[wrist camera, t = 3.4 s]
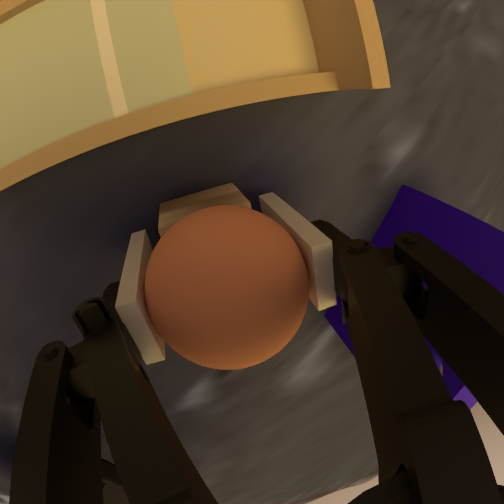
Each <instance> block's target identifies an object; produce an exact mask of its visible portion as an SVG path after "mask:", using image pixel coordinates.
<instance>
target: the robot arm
mask: <svg viewBox="0 0 504 504" xmlns="http://www.w3.org/2000/svg"><path fill="white" fill-rule="evenodd" d="M259 201H260V206H261V210H262V214H264V215H267V216H268V217H270V218H271V219H273V220H274V221H276V222H277V223H278V224H280V225H281V226H282V227H283V228H284V229H285V230H286V231H287V232H288V233H289V234H290V236H291V237H292V238H293V240H294V241H295V242H296V244H297V246H298V247H299V249H300V251H301V253H302V256H303V258H304V261H305V263H306V267H307V271H308V277H309V298H310V300H311V301H312V303H313V304H314V305H315V307H316V308H317V309H318V311H320V310H323V309H326V308H328V307H331V306H334V305H336V304H337V301H336V292H337V294H338V295H339V296H340V297H341V298H342V319H343V324H344V323H346V324H347V328H348V332H349V336H350V339H351V343H352V347H353V351H354V355H355V359H356V363H357V367H358V371H359V375H360V379H361V383H362V387H363V392H364V396H365V400H366V405H367V409H368V414H369V418H370V423H371V428H372V433H373V437H374V442H375V448H376V453H377V458H378V465H379V475H378V477H379V478H378V479H379V484H378V485H376V486H374V487H372V488H370V489H368V490H366V491H364V492H363V493H361V494H360V495H359V496H358V497H356V498H355V499H353V500H352V501H351V502H350V503H348V504H504V486H502V485H497V483H496V480H495V476H494V473H493V470H492V467H491V464H490V461H489V458H488V455H487V453H486V450H485V447H484V444H483V442H482V439H481V436H480V434H479V431H478V428H477V426H476V423H475V421H474V418H473V416H472V414H471V411H470V409H469V408H468V406H467V404H466V403H465V402H464V401H462V400H453V399H452V398H451V396H450V394H449V392H448V389H447V387H446V385H445V382H444V380H443V378H442V376H441V373H440V371H439V369H438V367H437V364H436V362H435V360H434V358H433V356H432V353H431V351H430V349H429V347H428V345H427V343H426V341H425V339H426V340H427V341H428V342H429V343H430V344H431V345H432V347H433V348H434V349H435V350H436V351H437V352H438V354H439V355H440V356H441V357H442V358H443V359H444V361H445V362H446V363H447V364H448V365H449V367H450V368H451V369H452V370H453V371H454V373H455V374H456V375H457V376H458V377H459V379H460V380H461V381H462V382H463V384H464V385H465V386H466V387H467V389H468V390H469V391H470V392H471V394H472V395H473V396H474V397H475V399H476V400H477V401H478V402H479V404H480V405H481V406H482V408H483V409H484V410H485V411H486V413H487V414H488V415H489V417H490V418H491V419H492V421H493V422H494V423H495V425H496V426H497V427H498V429H499V430H500V431H501V433H502V434H503V435H504V295H503V294H502V293H501V292H500V291H498V290H497V289H496V288H495V287H493V286H492V285H491V284H490V283H488V282H487V281H486V280H484V279H483V278H482V277H481V276H479V275H478V274H477V273H475V272H474V271H473V270H471V269H470V268H469V267H467V266H466V265H465V264H463V263H462V262H461V261H459V260H458V259H456V258H455V257H454V256H452V255H451V254H449V253H448V252H447V251H445V250H444V249H442V248H441V247H440V246H438V245H437V244H435V243H434V242H432V241H431V240H429V239H428V238H427V237H425V236H423V235H421V234H419V233H414V232H404V233H400V234H398V235H396V236H395V237H394V247H387V248H378V249H376V248H375V246H374V245H373V244H372V243H371V242H369V241H366V240H360V239H356V240H351V239H350V238H349V237H348V236H346V235H345V234H344V233H342V232H341V231H339V230H338V229H337V228H335V227H334V226H333V225H332V224H330V223H329V222H326V221H322V220H317V221H313V222H309V221H308V220H306V219H305V218H304V217H303V216H302V215H300V214H299V213H298V212H297V211H295V210H294V209H293V208H292V207H291V206H289V205H288V204H287V203H286V202H284V201H283V200H282V199H281V198H279V197H278V196H277V195H276V194H274V193H273V192H270V193H267V194H263V195H259ZM152 252H153V249H152V246H151V243H150V240H149V238H148V235H147V232H146V229H144V230H141V231H138V232H135V233H132V234H131V238H130V242H129V246H128V250H127V254H126V258H125V262H124V267H123V271H122V276H121V280H120V281H118V282H115V283H111V284H109V286H108V287H107V288H106V290H105V291H104V293H103V297H102V298H101V297H95V298H91V299H88V300H86V301H84V302H83V303H81V304H80V305H79V306H78V307H77V308H76V309H75V310H74V312H73V315H72V318H73V319H74V321H75V323H76V324H77V326H78V328H79V329H80V331H81V333H82V334H83V337H84V340H83V341H82V342H80V343H78V344H76V345H74V346H72V347H70V348H67V347H66V345H65V344H64V342H62V341H54V342H51V343H48V344H47V345H45V346H44V347H43V348H42V350H41V351H40V352H39V354H38V356H37V358H36V361H35V365H34V368H33V372H32V375H31V379H30V383H29V387H28V390H27V394H26V399H25V403H24V407H23V412H22V416H21V421H20V426H19V431H18V437H17V442H16V448H15V455H14V462H13V469H12V478H11V488H10V500H9V504H218V503H217V501H216V500H215V498H214V497H213V495H212V494H211V492H210V490H209V489H208V487H207V486H206V484H205V483H204V481H203V479H202V478H201V476H200V475H199V473H198V471H197V470H196V468H195V466H194V465H193V463H192V461H191V460H190V458H189V456H188V454H187V453H186V451H185V449H184V447H183V446H182V444H181V442H180V440H179V438H178V436H177V435H176V433H175V431H174V429H173V427H172V425H171V423H170V421H169V419H168V418H167V416H166V414H165V412H164V410H163V408H162V406H161V404H160V402H159V400H158V397H157V395H156V393H155V391H154V389H153V387H152V385H151V383H150V381H149V378H148V376H147V374H146V372H145V370H144V368H143V367H142V365H141V364H140V361H141V356H142V358H143V360H144V361H145V363H146V365H148V364H151V363H155V362H159V361H163V360H165V345H164V340H163V338H162V337H161V336H160V334H159V333H158V331H157V330H156V328H155V326H154V324H153V323H152V320H151V318H150V315H149V312H148V309H147V305H146V300H145V274H146V270H147V266H148V262H149V259H150V256H151V254H152ZM424 281H425V283H426V284H427V287H428V289H426V288H425V287H424ZM423 336H424V337H425V339H424V337H423ZM101 421H102V425H103V428H104V432H105V435H106V438H107V442H108V445H109V448H110V451H111V454H112V457H113V460H114V463H115V466H114V465H112V464H110V463H107V462H105V461H102V460H101Z"/></svg>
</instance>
